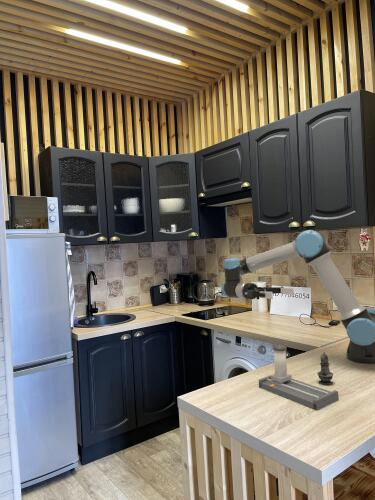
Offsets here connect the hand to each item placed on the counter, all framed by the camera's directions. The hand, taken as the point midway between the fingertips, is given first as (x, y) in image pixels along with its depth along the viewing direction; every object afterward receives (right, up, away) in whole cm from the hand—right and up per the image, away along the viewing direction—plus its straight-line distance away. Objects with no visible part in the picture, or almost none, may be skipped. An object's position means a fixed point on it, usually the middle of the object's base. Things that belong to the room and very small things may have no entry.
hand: (282, 293), depth 154 cm
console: (-1, -34, -23) cm, 41 cm away
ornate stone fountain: (+13, -33, -14) cm, 38 cm away
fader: (-5, -31, -17) cm, 35 cm away
